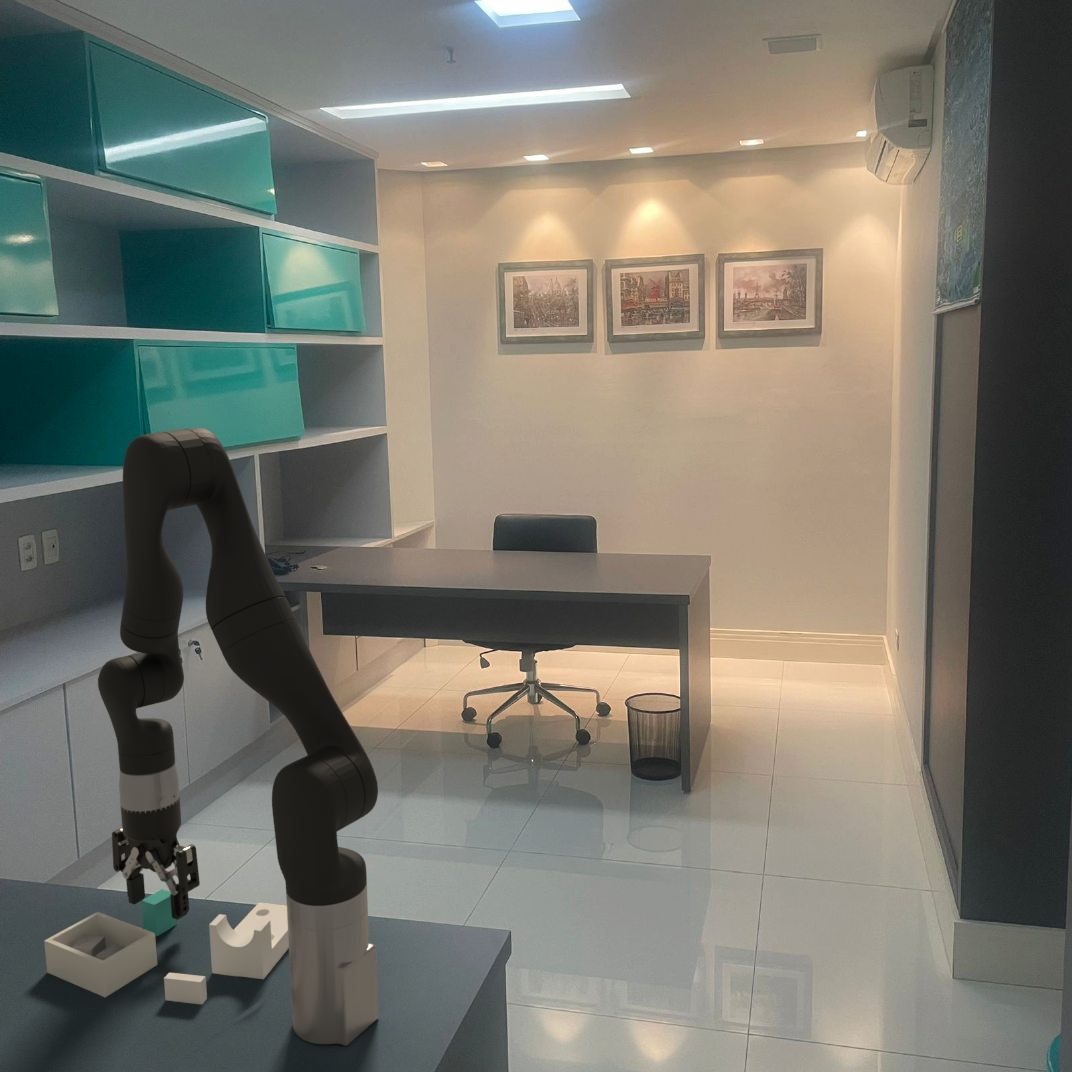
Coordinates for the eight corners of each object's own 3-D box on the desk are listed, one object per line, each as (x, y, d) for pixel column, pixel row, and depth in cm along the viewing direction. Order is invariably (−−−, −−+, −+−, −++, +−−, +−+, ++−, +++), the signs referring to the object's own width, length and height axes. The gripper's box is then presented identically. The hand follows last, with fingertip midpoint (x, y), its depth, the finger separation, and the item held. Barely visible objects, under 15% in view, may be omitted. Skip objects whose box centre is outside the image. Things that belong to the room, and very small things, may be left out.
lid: (193, 923, 148) (191, 886, 147) (143, 953, 140) (140, 914, 139) (137, 902, 153) (134, 867, 152) (86, 930, 146) (83, 893, 145)
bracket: (263, 986, 132) (260, 930, 131) (212, 979, 134) (209, 924, 133) (307, 931, 145) (305, 880, 144) (260, 926, 146) (257, 875, 145)
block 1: (106, 957, 137) (105, 936, 137) (93, 970, 134) (91, 949, 134) (85, 955, 138) (83, 934, 137) (72, 968, 135) (70, 947, 134)
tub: (157, 968, 136) (154, 933, 135) (105, 1001, 129) (102, 964, 128) (100, 946, 141) (97, 911, 140) (47, 976, 134) (44, 940, 133)
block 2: (133, 971, 134) (131, 949, 134) (113, 983, 132) (112, 961, 131) (117, 964, 136) (115, 943, 135) (97, 976, 133) (96, 954, 133)
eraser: (171, 999, 130) (169, 972, 129) (207, 1003, 129) (205, 976, 128) (165, 1005, 128) (163, 978, 128) (202, 1009, 127) (200, 982, 127)
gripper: (209, 797, 141) (216, 909, 144) (136, 777, 148) (144, 884, 151) (165, 818, 135) (173, 935, 138) (91, 797, 142) (100, 908, 144)
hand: (158, 908), depth 144 cm, fingers open, 8 cm apart
